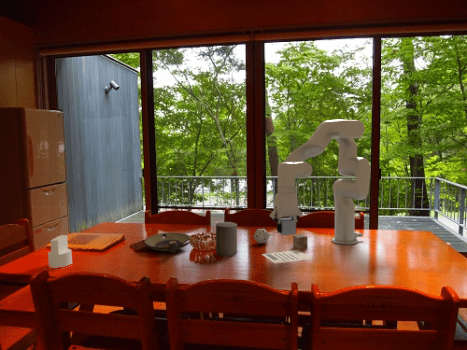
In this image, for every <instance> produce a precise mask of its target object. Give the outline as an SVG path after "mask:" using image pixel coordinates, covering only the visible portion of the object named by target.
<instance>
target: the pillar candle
mask: <svg viewBox="0 0 467 350" xmlns="http://www.w3.org/2000/svg"><path fill="white" fill-rule="evenodd" d="M215 245H216V246H215V249H216V253H215V254H216V255H217V256H218V257H219V256H220V257H233V256H236V255H237V254H238V224H237V223H235V222H232V221H221V222H218V223H216V224H215Z"/></svg>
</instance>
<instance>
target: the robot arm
mask: <svg viewBox="0 0 467 350" xmlns="http://www.w3.org/2000/svg"><path fill="white" fill-rule="evenodd" d="M364 133H365V125H364V123H363V122H362V121H361V120H358V119H331V120H330V119H329V120H324V121H322V122H321V123H320V124H319V125H318V126H317V128H316V129H315V131H313V133H312V135H311V136H310V137H309V139H308V140H307V141H306V142H304V143H302V144H300V146H299V147H296V148H295V149H294V150H293V151H292V152H291V153H290V154H289V155H288V156H287V157H286V159H284V160H285V161H283V162H281V161H280V162H279V163H278V164H277V193H275V196H274V201H273V202H274V203H273V211H272V212H270V214H269V217H270V218H271V219H272V220H273V221H274V222H275V223H276V232H277V231H278V232H279V233H281V232H282V224H281V220H282V219H283V218H291V219H293V220H296V223H298V220H300V218H301V217H302V216H303V212H302V210H301V209H300V208H299V201H298V200H299V199H298V195H297V193H296V191H298V190H299V188H298V187H296V179H306V178H309V177H310V176H311V175H312V173H313V167H312V165H311V164H310V163H309V162H308V161H306V160H308V159H310V158H314V157H317V156H319V155H321V154H322V153H323V152H325V150H326V148H327V147H328V146H329V144H330V143H331V141H332V140H334V139H335V141H336V142H337V144H338V158H337V159H338V161H337V172H338V174H339V175H340V176H344V177H353V179H351V178H339V179H336V180H335V181H333V182H334V183H333V185H332V193H333V199H334V237H331V242H332V243H334V244H336V245H337V244H339V245H344V246H345V245H355V244H357V243H358V238H361V237H363V233H362V232H356V231H355V226H356V224H355V220H356V218H355V217H356V216H355V214H356V208H355V203H354V200H356V201H357V200H358V201H362V200H365V199H366V198H367V197H368V195H369V190H370V181H371V180H370V179H371V171H372V170H371V168H372V167H371V164H370V162H369V160H368V159H367V158H365V157H359V156H358V145H357V143H356V141H355V140H354V139H360V138H361V137H362V136H364ZM278 232H277V233H278ZM279 233H278V234H279Z"/></svg>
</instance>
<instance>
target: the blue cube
mask: <svg viewBox="0 0 467 350" xmlns="http://www.w3.org/2000/svg"><path fill="white" fill-rule="evenodd" d="M281 224H282V232H281V233H279V232H278V231H277V230H276V232H277V233H278V234H280V235H282V236H289V235H292V236H293V235H297V222H296V220H293V219H291V217H283V218H282V220H281Z"/></svg>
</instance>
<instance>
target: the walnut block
mask: <svg viewBox="0 0 467 350" xmlns="http://www.w3.org/2000/svg"><path fill="white" fill-rule="evenodd" d="M308 241H309V240H308V236H307V235H305V234H302V233H301V234H293V235H292V247H293V248H294V249H295V250H298V251H301V250H307V249H308Z"/></svg>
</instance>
